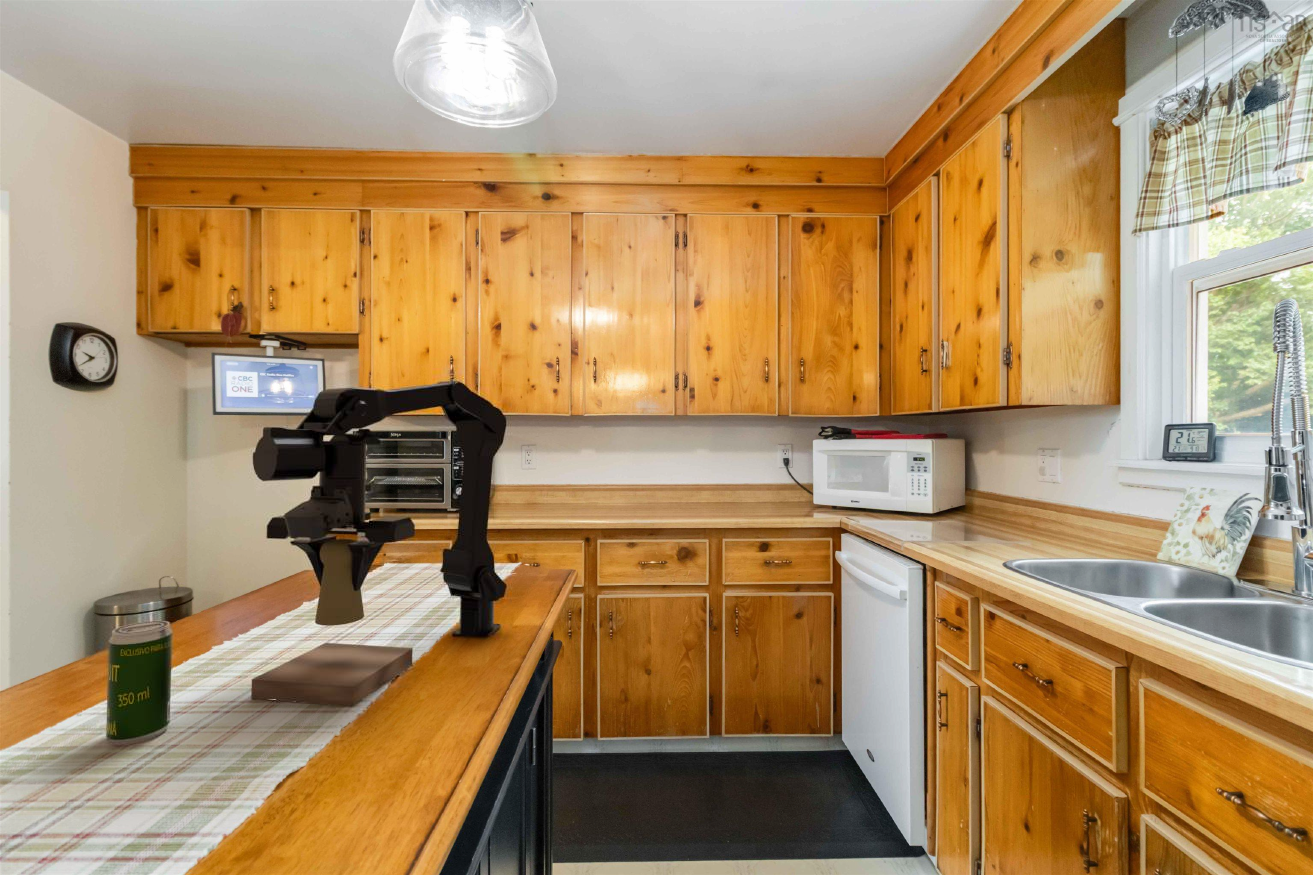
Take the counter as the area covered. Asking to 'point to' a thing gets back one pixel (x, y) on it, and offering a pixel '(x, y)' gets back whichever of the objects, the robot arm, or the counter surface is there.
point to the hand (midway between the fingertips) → (340, 589)
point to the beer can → (139, 682)
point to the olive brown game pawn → (338, 586)
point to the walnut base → (333, 674)
